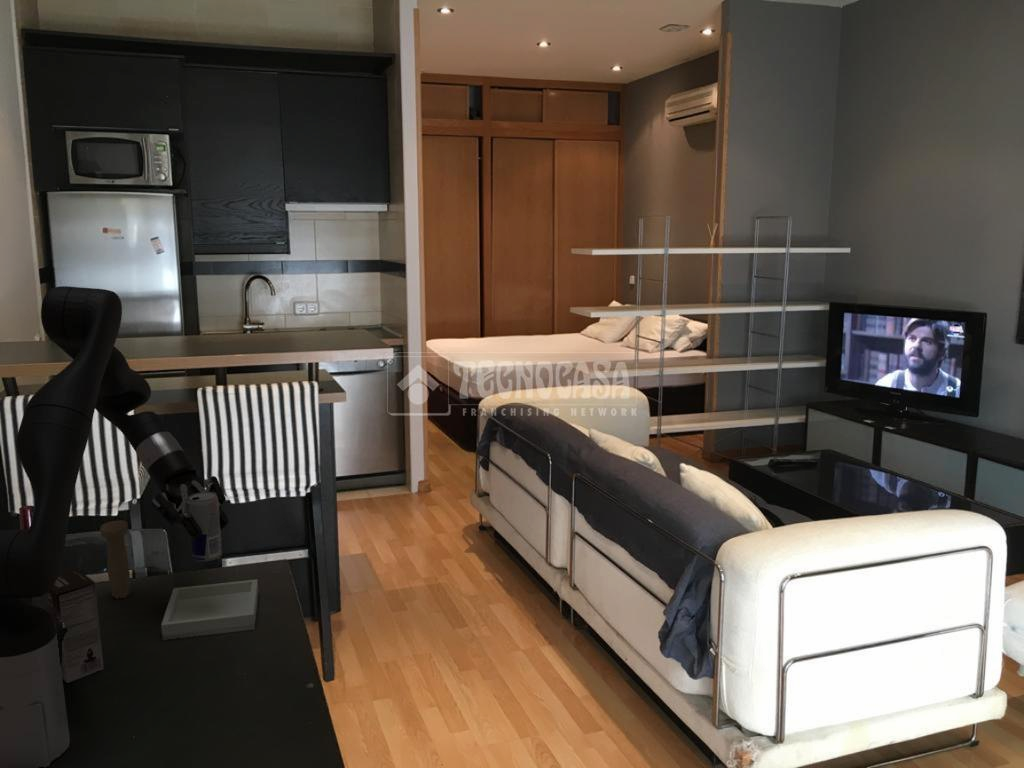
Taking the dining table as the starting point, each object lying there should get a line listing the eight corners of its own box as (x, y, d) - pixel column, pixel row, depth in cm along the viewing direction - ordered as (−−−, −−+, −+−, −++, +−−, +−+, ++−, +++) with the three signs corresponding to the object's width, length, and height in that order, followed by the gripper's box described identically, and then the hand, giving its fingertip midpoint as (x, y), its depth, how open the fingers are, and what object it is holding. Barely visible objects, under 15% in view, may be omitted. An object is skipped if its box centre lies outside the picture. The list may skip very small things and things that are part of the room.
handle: (134, 587, 174) (127, 519, 171) (133, 600, 168) (126, 529, 165) (109, 591, 172) (101, 522, 169) (107, 604, 166) (99, 533, 164)
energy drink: (191, 553, 160) (186, 493, 158) (220, 549, 163) (216, 490, 160) (193, 564, 156) (188, 502, 153) (224, 559, 158) (219, 498, 155)
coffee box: (45, 665, 144) (34, 577, 141) (84, 651, 148) (74, 566, 145) (66, 684, 138) (55, 593, 135) (106, 669, 142) (96, 580, 139)
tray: (254, 629, 156) (253, 614, 155) (162, 640, 152) (161, 625, 151) (258, 593, 171) (257, 579, 170) (174, 602, 167) (173, 588, 167)
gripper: (139, 458, 153) (188, 532, 149) (204, 440, 165) (250, 509, 161) (124, 482, 157) (171, 555, 153) (188, 462, 169) (233, 530, 165)
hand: (212, 531), depth 157 cm, fingers closed on energy drink, 5 cm apart
